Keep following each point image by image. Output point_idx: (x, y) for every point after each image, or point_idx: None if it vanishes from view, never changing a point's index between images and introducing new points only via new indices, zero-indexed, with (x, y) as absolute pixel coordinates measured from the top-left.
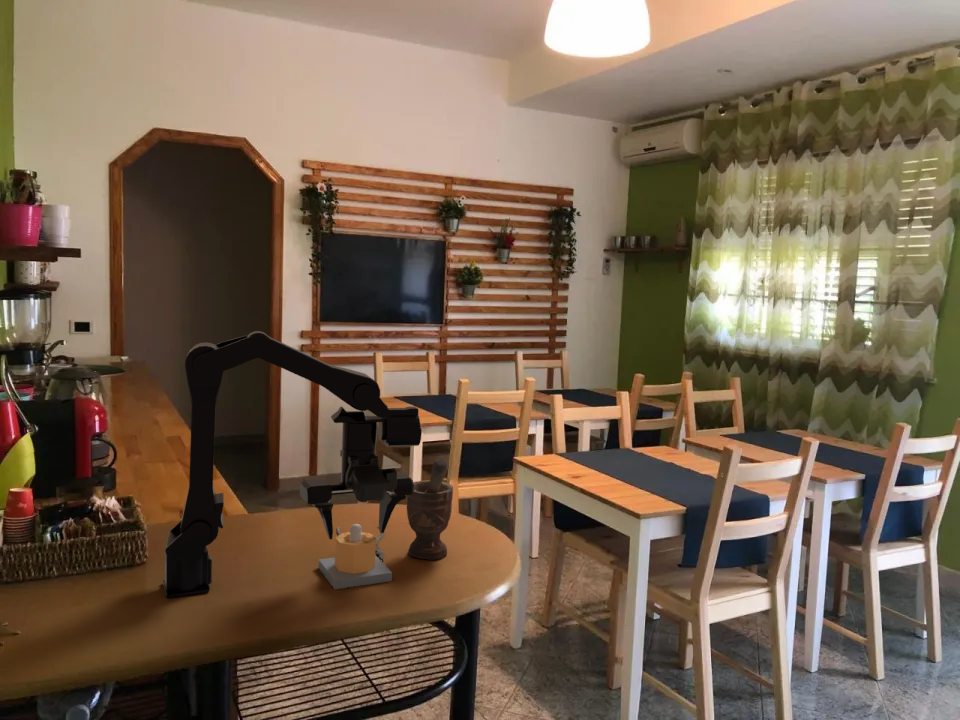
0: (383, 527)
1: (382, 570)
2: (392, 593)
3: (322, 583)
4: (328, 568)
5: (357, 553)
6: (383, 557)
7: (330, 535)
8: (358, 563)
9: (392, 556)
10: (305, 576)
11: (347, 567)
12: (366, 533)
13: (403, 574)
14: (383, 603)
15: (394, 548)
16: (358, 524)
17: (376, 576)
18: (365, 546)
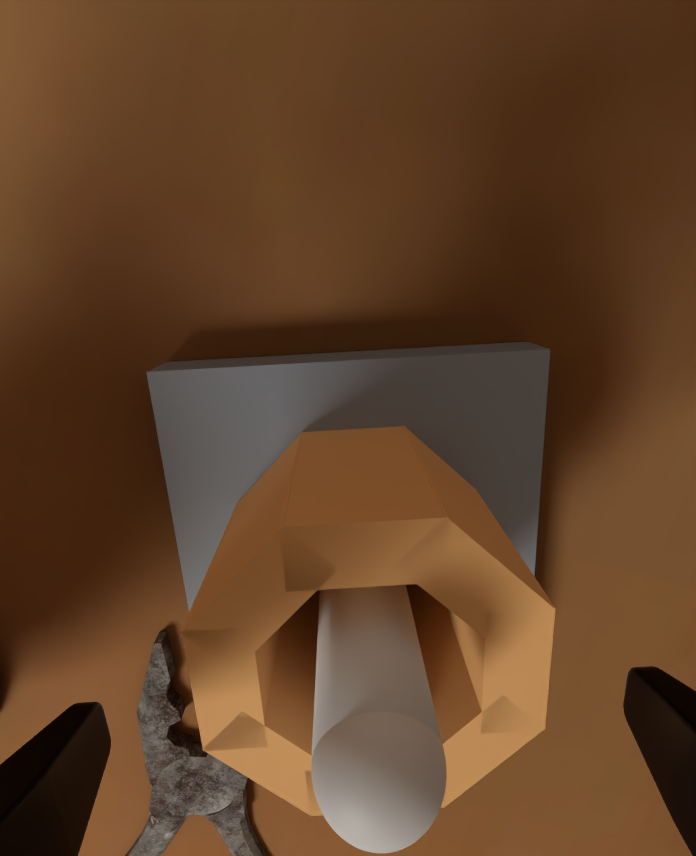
0: (43, 752)
1: (203, 424)
2: (202, 169)
3: (559, 446)
4: (520, 543)
5: (394, 482)
6: (150, 660)
7: (687, 692)
8: (374, 451)
9: (96, 678)
10: (608, 556)
11: (440, 466)
12: (242, 759)
13: (76, 437)
14: (299, 16)
15: None
16: (353, 827)
17: (261, 362)
18: (320, 511)
